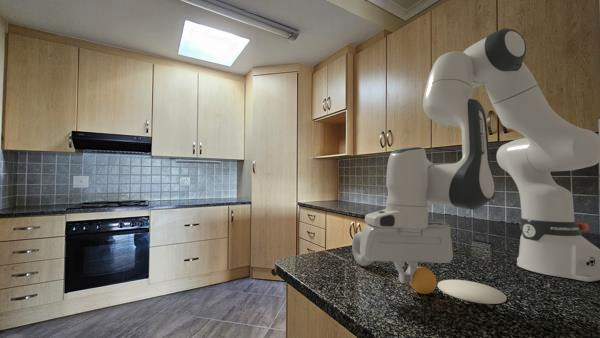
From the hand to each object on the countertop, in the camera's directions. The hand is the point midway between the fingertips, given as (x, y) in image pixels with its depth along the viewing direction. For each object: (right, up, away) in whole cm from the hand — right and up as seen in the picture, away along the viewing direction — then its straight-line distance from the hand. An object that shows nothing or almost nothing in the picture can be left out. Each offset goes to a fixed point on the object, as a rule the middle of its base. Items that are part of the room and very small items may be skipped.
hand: (405, 281), depth 57 cm
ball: (+4, 0, 0) cm, 4 cm away
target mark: (+15, -3, +1) cm, 16 cm away
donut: (-5, -4, +20) cm, 21 cm away
